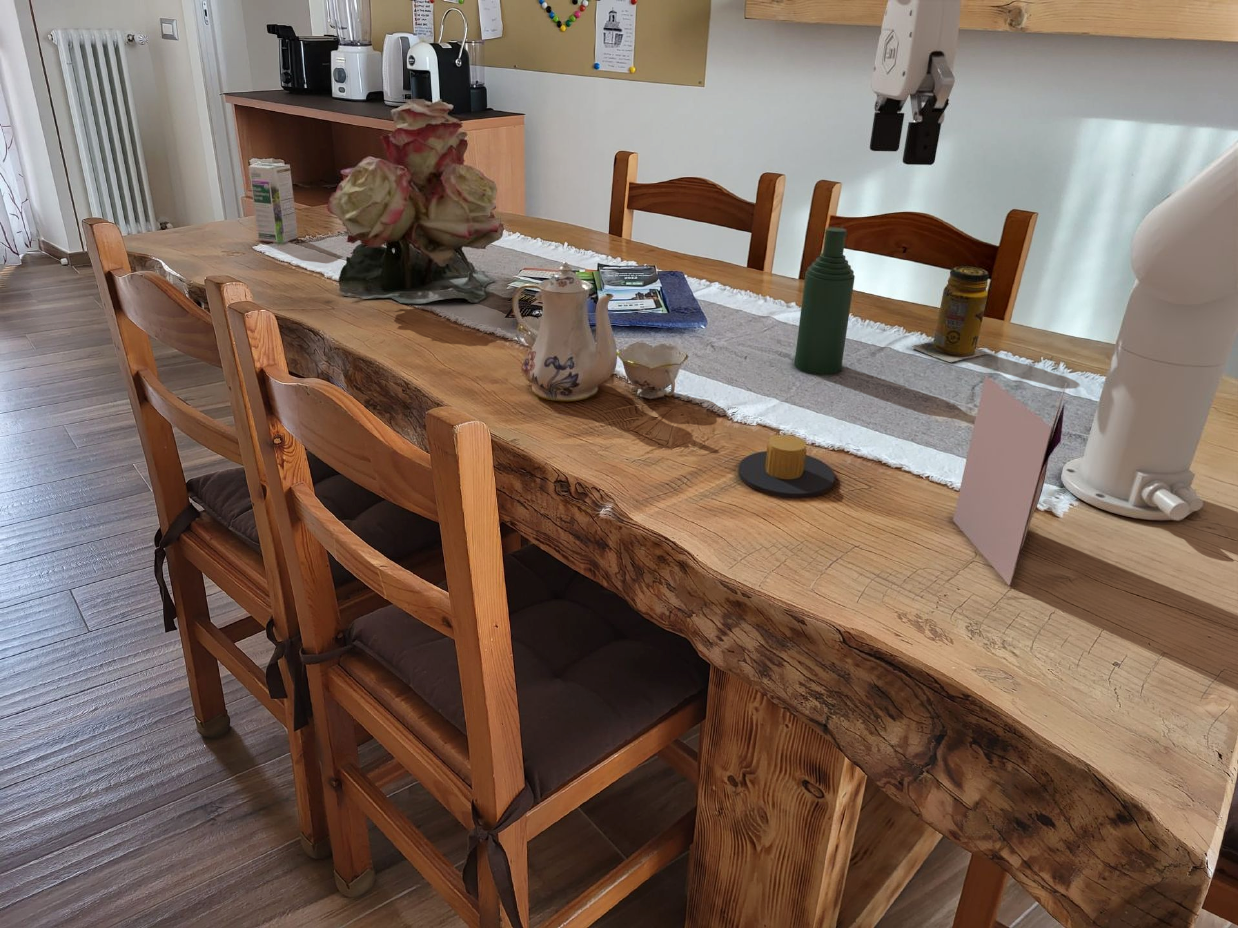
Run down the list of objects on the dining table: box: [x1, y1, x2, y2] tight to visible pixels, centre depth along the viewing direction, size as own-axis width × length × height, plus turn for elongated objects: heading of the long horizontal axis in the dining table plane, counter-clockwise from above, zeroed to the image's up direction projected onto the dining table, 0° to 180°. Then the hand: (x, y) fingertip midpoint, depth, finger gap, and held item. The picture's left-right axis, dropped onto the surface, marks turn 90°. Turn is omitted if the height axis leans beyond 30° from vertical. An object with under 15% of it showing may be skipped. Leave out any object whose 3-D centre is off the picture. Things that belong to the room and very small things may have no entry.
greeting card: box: [952, 374, 1067, 587], centre depth 81 cm, size 11×7×15 cm, turn 151°
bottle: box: [794, 226, 856, 376], centre depth 122 cm, size 6×6×19 cm
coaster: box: [737, 450, 836, 500], centre depth 96 cm, size 10×10×1 cm
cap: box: [765, 434, 808, 479], centre depth 95 cm, size 4×4×3 cm
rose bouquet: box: [326, 98, 505, 305], centre depth 150 cm, size 26×29×30 cm
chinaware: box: [511, 261, 689, 403], centre depth 115 cm, size 28×17×17 cm, turn 56°
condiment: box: [910, 265, 990, 363], centre depth 132 cm, size 7×8×12 cm
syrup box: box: [248, 162, 299, 244], centre depth 180 cm, size 6×6×14 cm
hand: (900, 157), depth 97 cm, fingers open, 9 cm apart
